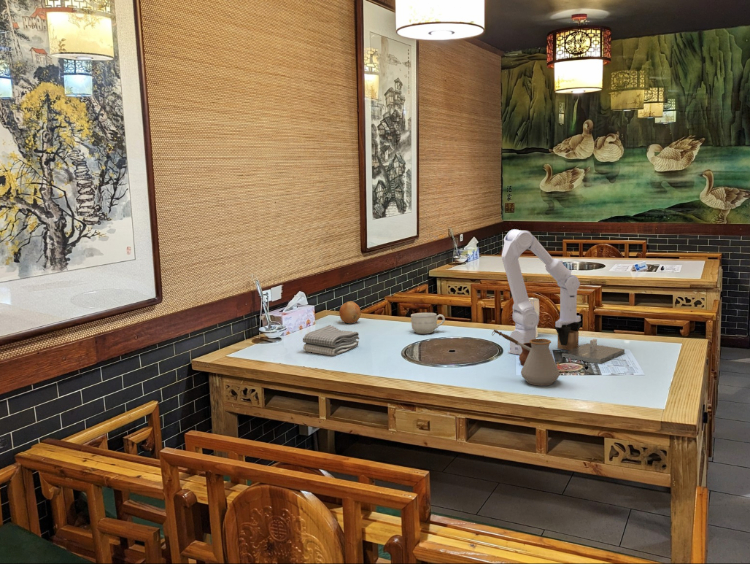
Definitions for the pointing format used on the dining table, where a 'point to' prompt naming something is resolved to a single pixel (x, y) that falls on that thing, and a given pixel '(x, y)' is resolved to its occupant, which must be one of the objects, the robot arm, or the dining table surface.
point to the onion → (350, 312)
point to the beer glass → (535, 308)
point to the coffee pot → (537, 362)
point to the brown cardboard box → (570, 341)
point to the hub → (593, 352)
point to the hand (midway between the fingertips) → (568, 343)
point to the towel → (330, 341)
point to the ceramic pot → (525, 354)
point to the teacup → (425, 322)
